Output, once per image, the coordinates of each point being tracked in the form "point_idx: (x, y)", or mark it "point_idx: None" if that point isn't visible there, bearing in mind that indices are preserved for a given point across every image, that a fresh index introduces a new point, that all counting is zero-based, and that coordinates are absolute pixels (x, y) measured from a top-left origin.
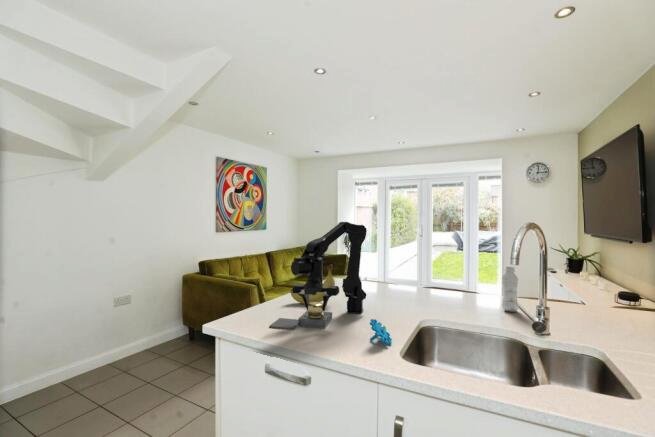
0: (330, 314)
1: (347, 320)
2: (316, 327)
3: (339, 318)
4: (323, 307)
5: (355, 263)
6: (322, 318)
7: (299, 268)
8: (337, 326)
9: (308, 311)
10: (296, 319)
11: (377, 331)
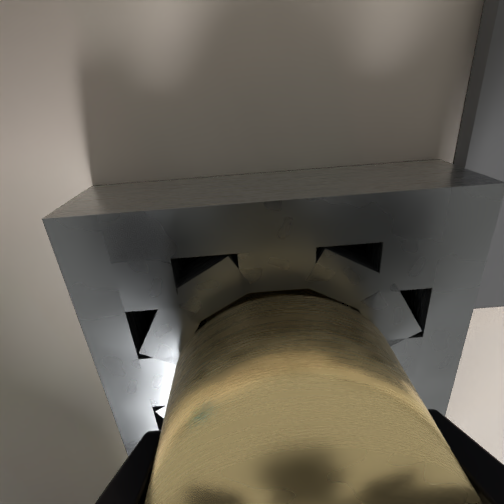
0: (124, 442)
1: (22, 438)
2: (202, 177)
3: (112, 454)
4: (121, 496)
5: None
6: (137, 296)
7: None
8: (6, 288)
9: (396, 363)
10: (500, 304)
11: None
